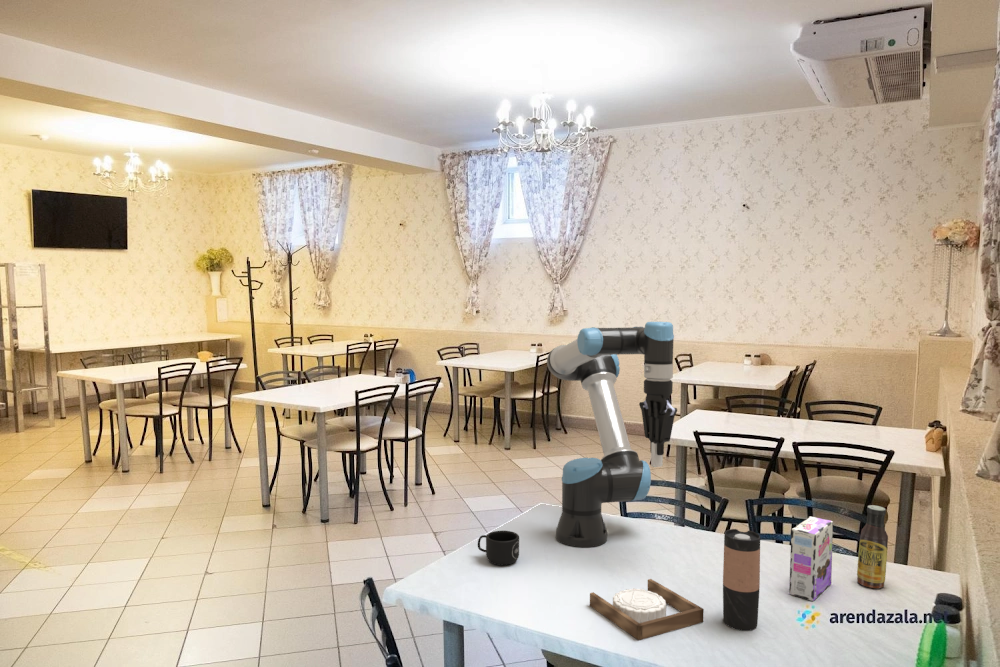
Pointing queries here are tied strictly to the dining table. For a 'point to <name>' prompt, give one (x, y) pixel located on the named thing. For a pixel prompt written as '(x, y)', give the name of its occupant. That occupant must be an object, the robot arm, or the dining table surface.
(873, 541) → the sauce bottle
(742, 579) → the travel mug
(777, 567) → the dining table surface
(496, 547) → the mug
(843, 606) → the dining table surface
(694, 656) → the dining table surface
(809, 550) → the candy box
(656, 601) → the mooncake
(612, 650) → the dining table surface
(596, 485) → the robot arm
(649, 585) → the wooden u-shaped frame
